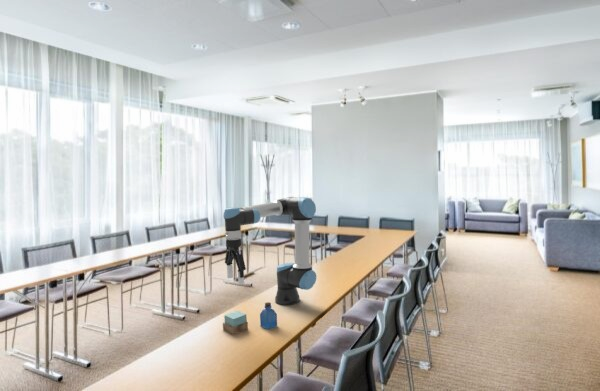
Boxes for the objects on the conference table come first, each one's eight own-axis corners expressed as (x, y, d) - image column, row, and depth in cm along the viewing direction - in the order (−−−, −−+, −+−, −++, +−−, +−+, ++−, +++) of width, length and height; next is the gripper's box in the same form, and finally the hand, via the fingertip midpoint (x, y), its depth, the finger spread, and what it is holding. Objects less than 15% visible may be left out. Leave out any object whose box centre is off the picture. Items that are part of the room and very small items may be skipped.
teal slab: (237, 318, 193) (237, 310, 193) (246, 321, 187) (246, 314, 187) (224, 322, 188) (224, 315, 187) (233, 326, 182) (233, 319, 182)
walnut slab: (237, 325, 194) (237, 317, 194) (247, 329, 187) (247, 322, 187) (223, 330, 188) (222, 323, 187) (233, 335, 181) (232, 327, 181)
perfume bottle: (267, 329, 186) (266, 306, 185) (260, 326, 191) (259, 303, 190) (277, 325, 190) (276, 303, 189) (270, 322, 195) (269, 300, 194)
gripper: (217, 236, 189) (219, 276, 191) (236, 243, 168) (239, 288, 170) (230, 234, 193) (232, 274, 195) (251, 241, 173) (253, 285, 174)
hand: (235, 280), depth 182 cm, fingers open, 13 cm apart
